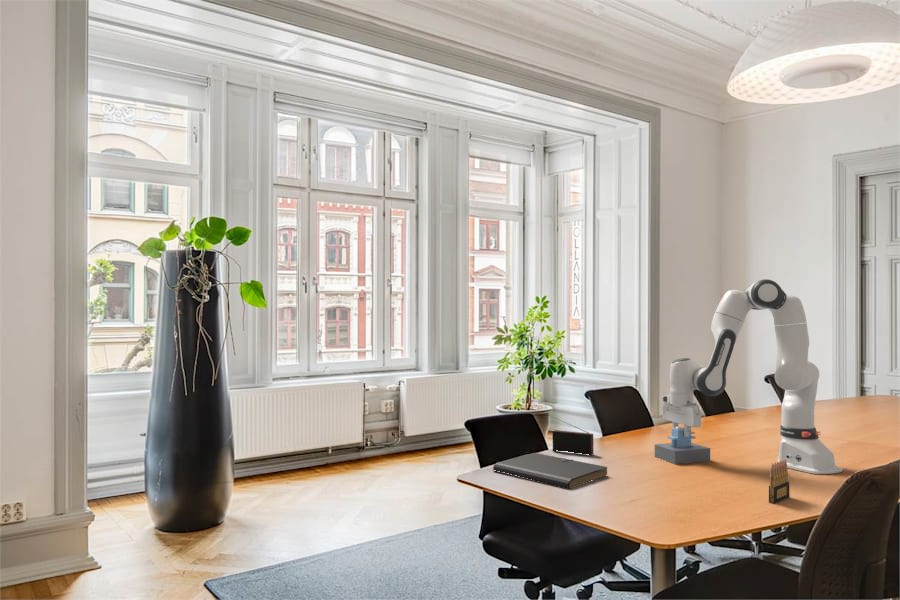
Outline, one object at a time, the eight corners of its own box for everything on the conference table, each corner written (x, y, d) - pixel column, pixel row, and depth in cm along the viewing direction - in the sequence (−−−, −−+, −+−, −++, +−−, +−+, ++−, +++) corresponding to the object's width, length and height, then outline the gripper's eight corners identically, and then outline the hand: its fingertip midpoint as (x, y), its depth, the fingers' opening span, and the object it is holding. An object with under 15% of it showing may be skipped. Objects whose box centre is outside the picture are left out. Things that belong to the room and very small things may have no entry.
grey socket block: (710, 461, 257) (710, 448, 257) (674, 464, 252) (674, 451, 252) (688, 454, 269) (688, 441, 269) (654, 456, 265) (654, 444, 265)
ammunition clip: (783, 496, 210) (783, 458, 210) (789, 497, 208) (789, 459, 208) (768, 502, 203) (768, 463, 203) (774, 504, 201) (774, 464, 201)
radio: (593, 454, 270) (593, 417, 270) (591, 456, 267) (591, 418, 267) (550, 449, 279) (550, 414, 279) (548, 451, 276) (547, 415, 277)
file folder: (608, 465, 235) (567, 479, 219) (608, 477, 235) (567, 492, 219) (534, 451, 259) (493, 463, 242) (534, 462, 259) (493, 474, 242)
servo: (699, 449, 261) (699, 426, 261) (673, 451, 258) (673, 428, 258) (692, 447, 265) (692, 424, 265) (667, 449, 261) (667, 426, 261)
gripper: (705, 403, 252) (705, 439, 252) (672, 395, 272) (672, 429, 272) (691, 403, 250) (691, 440, 250) (659, 396, 270) (659, 430, 270)
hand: (681, 434), depth 261 cm, fingers closed on servo, 4 cm apart
